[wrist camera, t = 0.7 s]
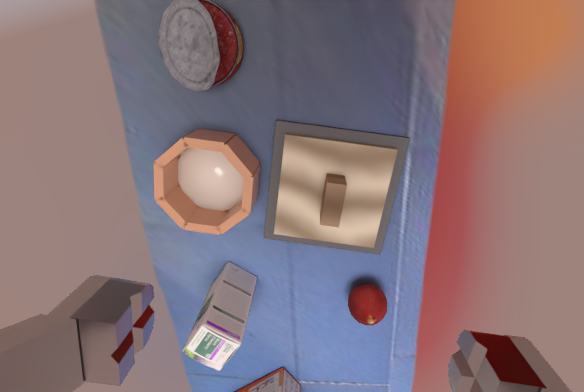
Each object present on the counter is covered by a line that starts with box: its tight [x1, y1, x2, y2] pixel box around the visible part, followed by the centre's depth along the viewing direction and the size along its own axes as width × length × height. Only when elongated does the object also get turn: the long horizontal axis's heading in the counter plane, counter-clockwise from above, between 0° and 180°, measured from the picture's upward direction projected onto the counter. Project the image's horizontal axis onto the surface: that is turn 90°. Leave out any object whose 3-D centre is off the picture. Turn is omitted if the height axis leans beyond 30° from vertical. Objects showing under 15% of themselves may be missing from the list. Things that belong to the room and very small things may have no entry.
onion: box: [348, 284, 387, 325], centre depth 51 cm, size 6×6×8 cm
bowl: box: [154, 129, 261, 235], centre depth 46 cm, size 13×13×6 cm
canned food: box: [158, 0, 244, 91], centre depth 40 cm, size 11×10×10 cm
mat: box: [264, 120, 410, 255], centre depth 49 cm, size 18×18×1 cm
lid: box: [274, 133, 398, 248], centre depth 46 cm, size 15×15×5 cm
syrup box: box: [183, 261, 257, 371], centre depth 49 cm, size 6×6×14 cm
